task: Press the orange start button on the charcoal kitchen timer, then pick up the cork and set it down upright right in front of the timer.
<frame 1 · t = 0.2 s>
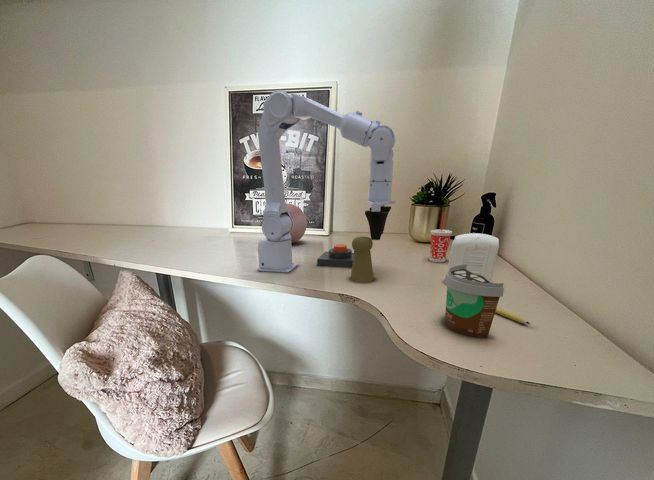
hand: (377, 236, 88), 10 cm above the table, tool pointing down, fingers open, 7 cm apart
cork: (362, 279, 88), on the table, touching gripper
timer button: (340, 248, 102), point 5 cm above the table, slide at 0.1 cm
pink ball: (288, 243, 133), on the table
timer: (340, 262, 104), on the table
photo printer: (467, 284, 83), on the table
food container: (457, 327, 62), on the table
beverage cup: (437, 261, 104), on the table
pencil: (496, 313, 66), on the table
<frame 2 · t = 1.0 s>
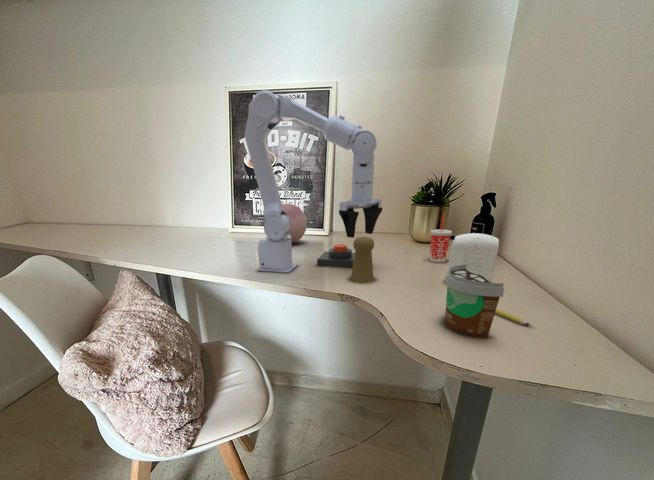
hand: (359, 235, 93), 10 cm above the table, tool pointing down, fingers open, 7 cm apart
cork: (362, 280, 88), on the table
everything else where it was.
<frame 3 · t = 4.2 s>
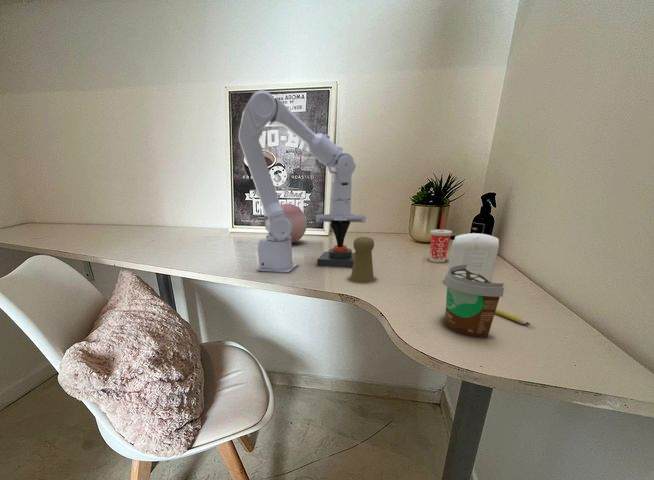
hand: (340, 246, 102), 5 cm above the table, tool pointing down, fingers closed, pressing on timer button
timer button: (340, 249, 102), point 4 cm above the table, slide at -0.1 cm, touching gripper
everything else where it was.
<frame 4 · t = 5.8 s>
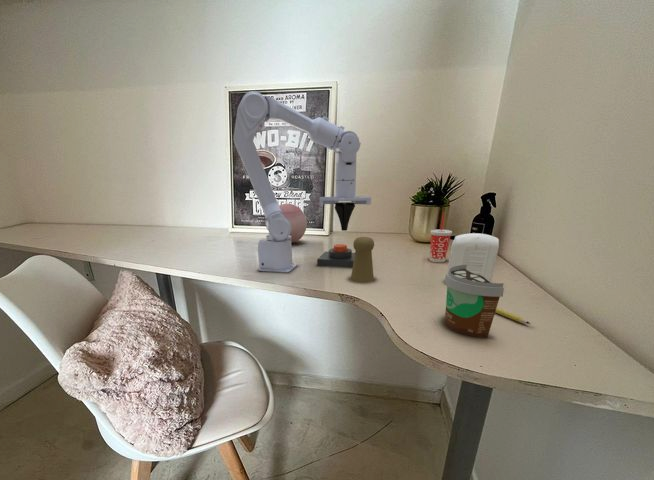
hand: (344, 230, 98), 10 cm above the table, tool pointing down, fingers closed
timer button: (340, 248, 102), point 5 cm above the table, slide at 0.1 cm
everything else where it was.
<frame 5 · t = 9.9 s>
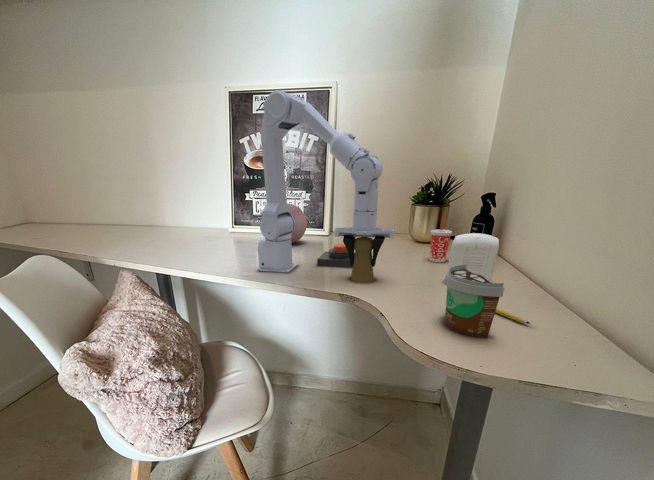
hand: (362, 264, 87), 4 cm above the table, tool pointing down, fingers closed on cork, 5 cm apart
cork: (362, 280, 88), on the table, touching gripper
everything else where it was.
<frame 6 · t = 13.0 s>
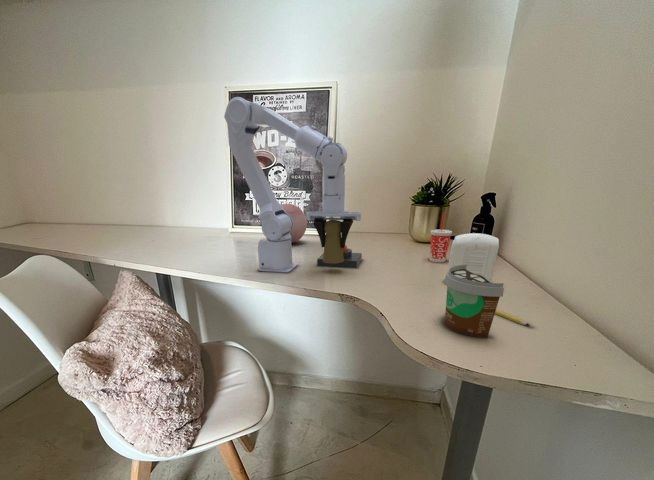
hand: (333, 246, 92), 7 cm above the table, tool pointing down, fingers closed on cork, 5 cm apart
cork: (333, 261, 94), point 3 cm above the table, touching gripper
everything else where it was.
when the fingers open (4 cm above the table, at t = 14.5 s): cork stays where it is, on the table.
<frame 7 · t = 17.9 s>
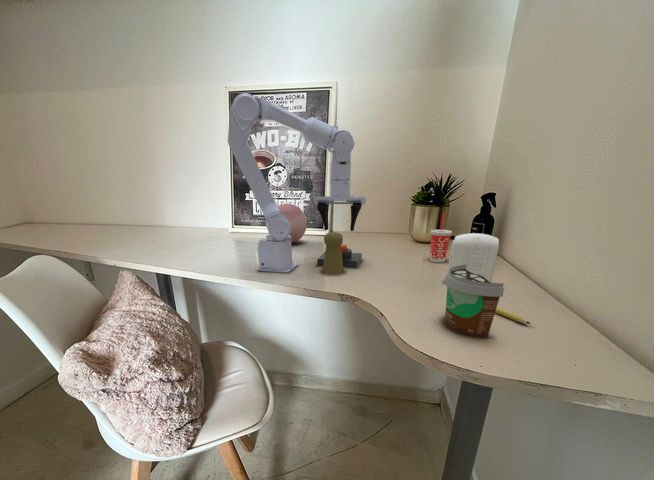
hand: (339, 230, 98), 10 cm above the table, tool pointing down, fingers open, 7 cm apart
cork: (333, 272, 95), on the table
everything else where it was.
at the end: timer button pushed in 1.2 cm at the most during the clip, back to where it started at the end; cork inside the target area (0.5 cm from its centre), on the table; cork tilted 0° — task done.
